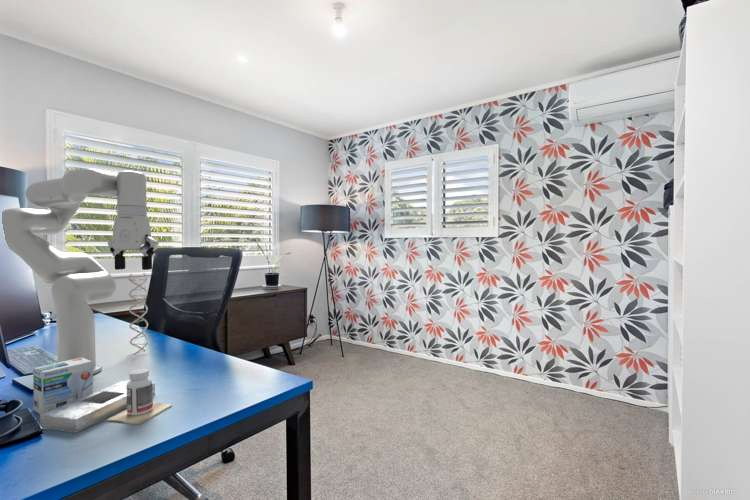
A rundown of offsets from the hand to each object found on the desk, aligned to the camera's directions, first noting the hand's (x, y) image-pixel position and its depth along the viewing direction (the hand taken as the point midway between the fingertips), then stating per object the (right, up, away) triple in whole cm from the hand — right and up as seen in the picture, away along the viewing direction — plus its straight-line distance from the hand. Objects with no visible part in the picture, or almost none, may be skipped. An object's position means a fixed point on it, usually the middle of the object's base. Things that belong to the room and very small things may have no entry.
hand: (133, 269), depth 116 cm
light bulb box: (-6, -34, -19) cm, 39 cm away
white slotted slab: (+6, -34, -21) cm, 40 cm away
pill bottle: (+16, -34, -23) cm, 44 cm away
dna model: (-15, -33, +28) cm, 46 cm away
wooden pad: (+16, -34, -23) cm, 44 cm away
